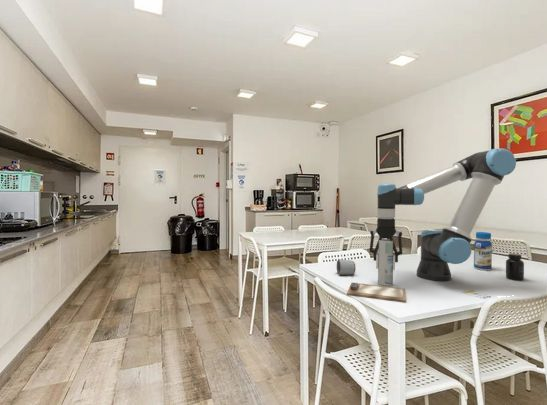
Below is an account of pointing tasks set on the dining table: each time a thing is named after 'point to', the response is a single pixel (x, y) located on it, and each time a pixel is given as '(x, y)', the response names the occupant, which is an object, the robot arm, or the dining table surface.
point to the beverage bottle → (483, 251)
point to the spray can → (385, 262)
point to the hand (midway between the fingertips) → (385, 268)
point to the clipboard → (377, 292)
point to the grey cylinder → (345, 267)
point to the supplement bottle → (515, 267)
